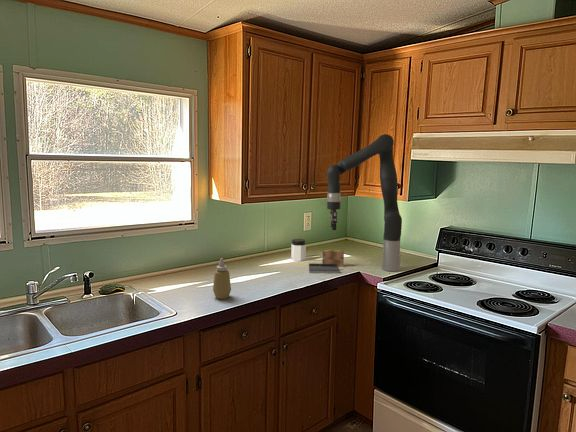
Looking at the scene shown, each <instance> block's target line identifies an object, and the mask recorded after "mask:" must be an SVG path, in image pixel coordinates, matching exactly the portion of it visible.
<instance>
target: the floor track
mask: <svg viewBox="0 0 576 432" xmlns="http://www.w3.org/2000/svg"><path fill="white" fill-rule="evenodd" d="M339 272H340V271H339V267H338V264H322V263H318V262H317V263H313V262H312V263H310V262H309V263H308V273H310V274H339Z"/></svg>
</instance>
